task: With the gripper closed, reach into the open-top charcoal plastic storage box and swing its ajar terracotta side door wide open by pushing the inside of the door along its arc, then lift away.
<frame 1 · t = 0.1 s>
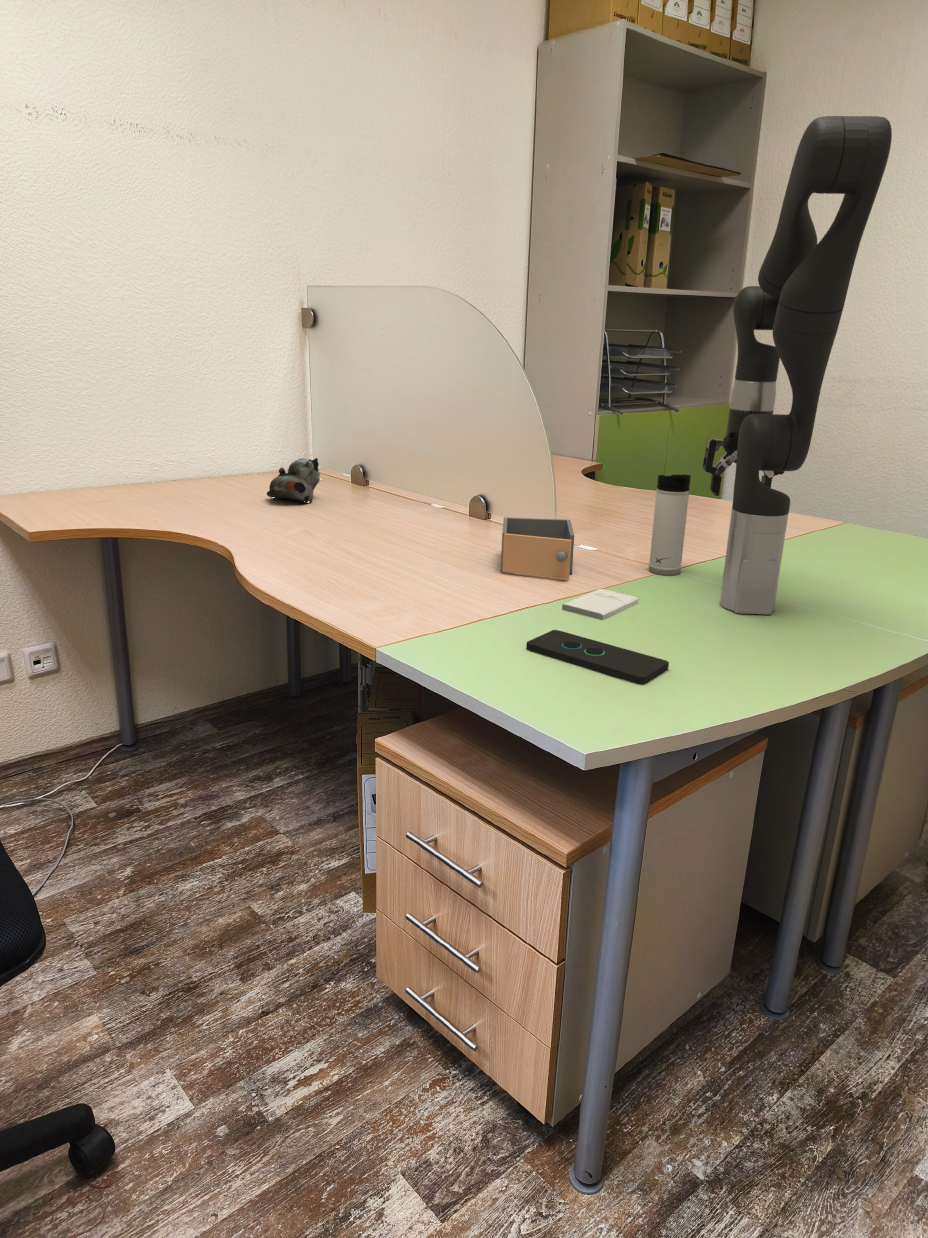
hand: (739, 495, 154), 17 cm above the table, tool pointing down, fingers open, 8 cm apart
side door: (535, 556, 161), point 4 cm above the table, hinge at 15.0°
external hard drive: (600, 609, 147), on the table
smart home device: (594, 663, 123), on the table
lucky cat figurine: (294, 501, 228), on the table
storage box: (535, 564, 171), on the table
travel mug: (664, 572, 168), on the table
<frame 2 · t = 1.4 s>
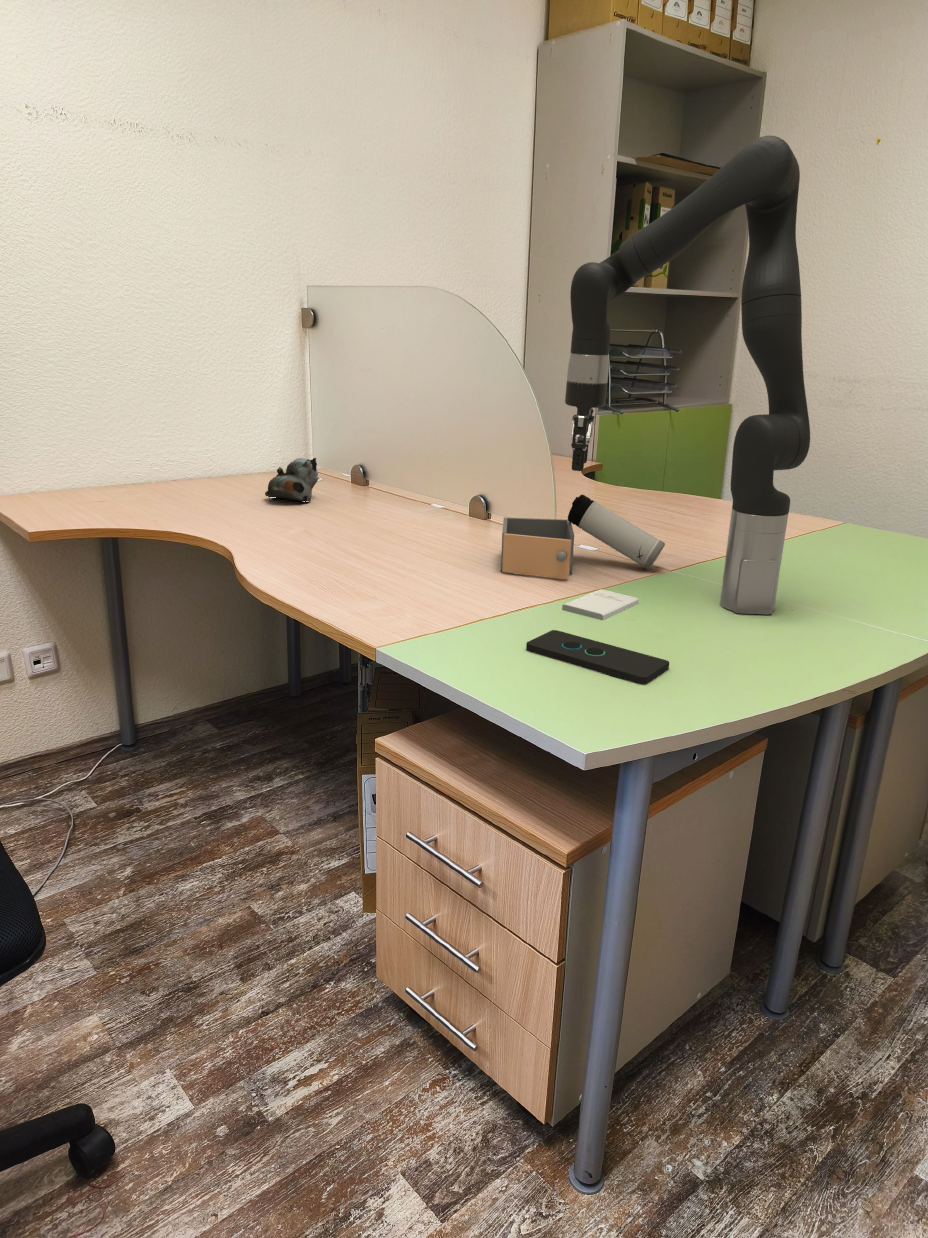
hand: (579, 466, 161), 21 cm above the table, tool pointing down, fingers open, 8 cm apart
travel mug: (658, 556, 168), point 3 cm above the table, touching storage box
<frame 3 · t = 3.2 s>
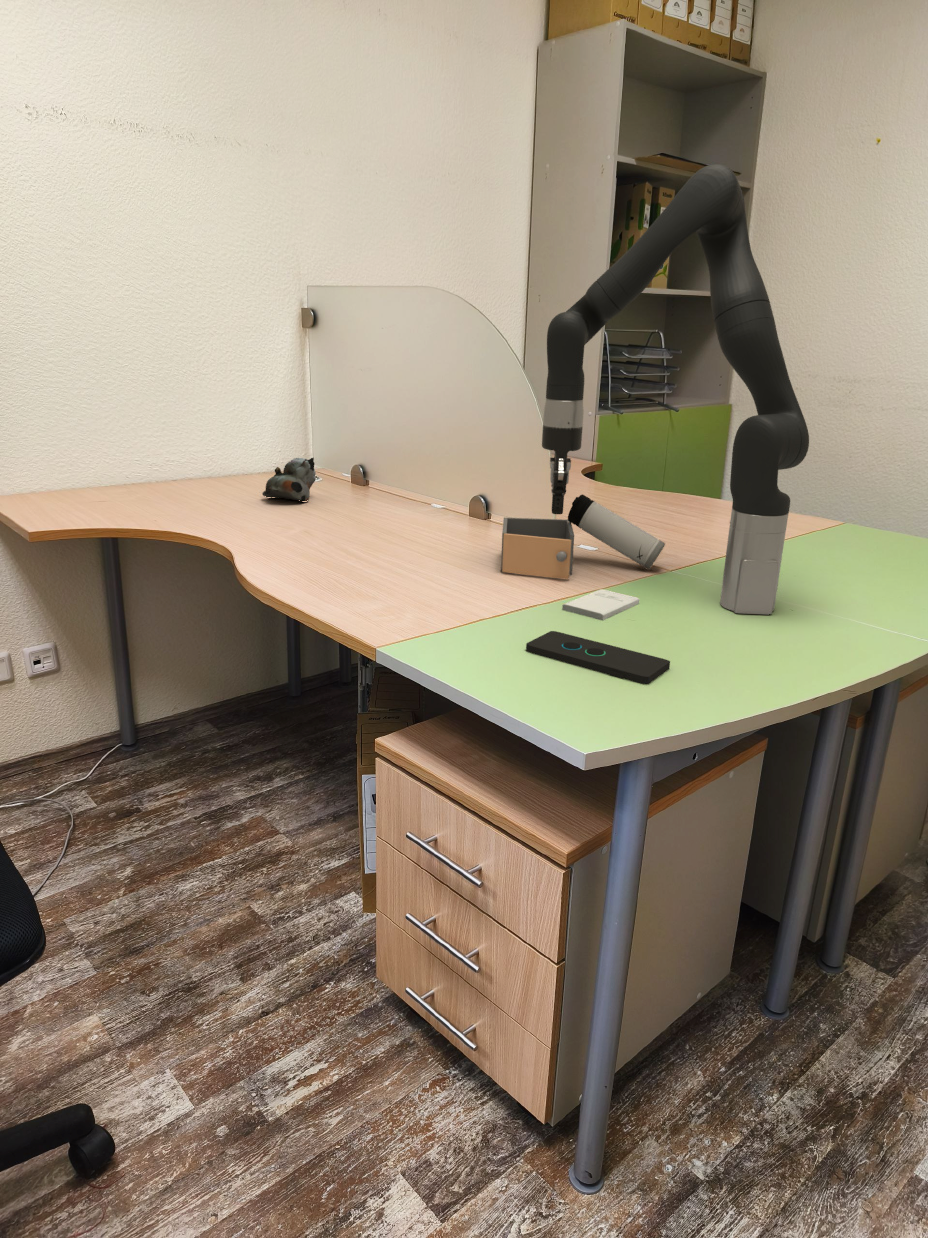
hand: (557, 513, 164), 12 cm above the table, tool pointing down, fingers closed
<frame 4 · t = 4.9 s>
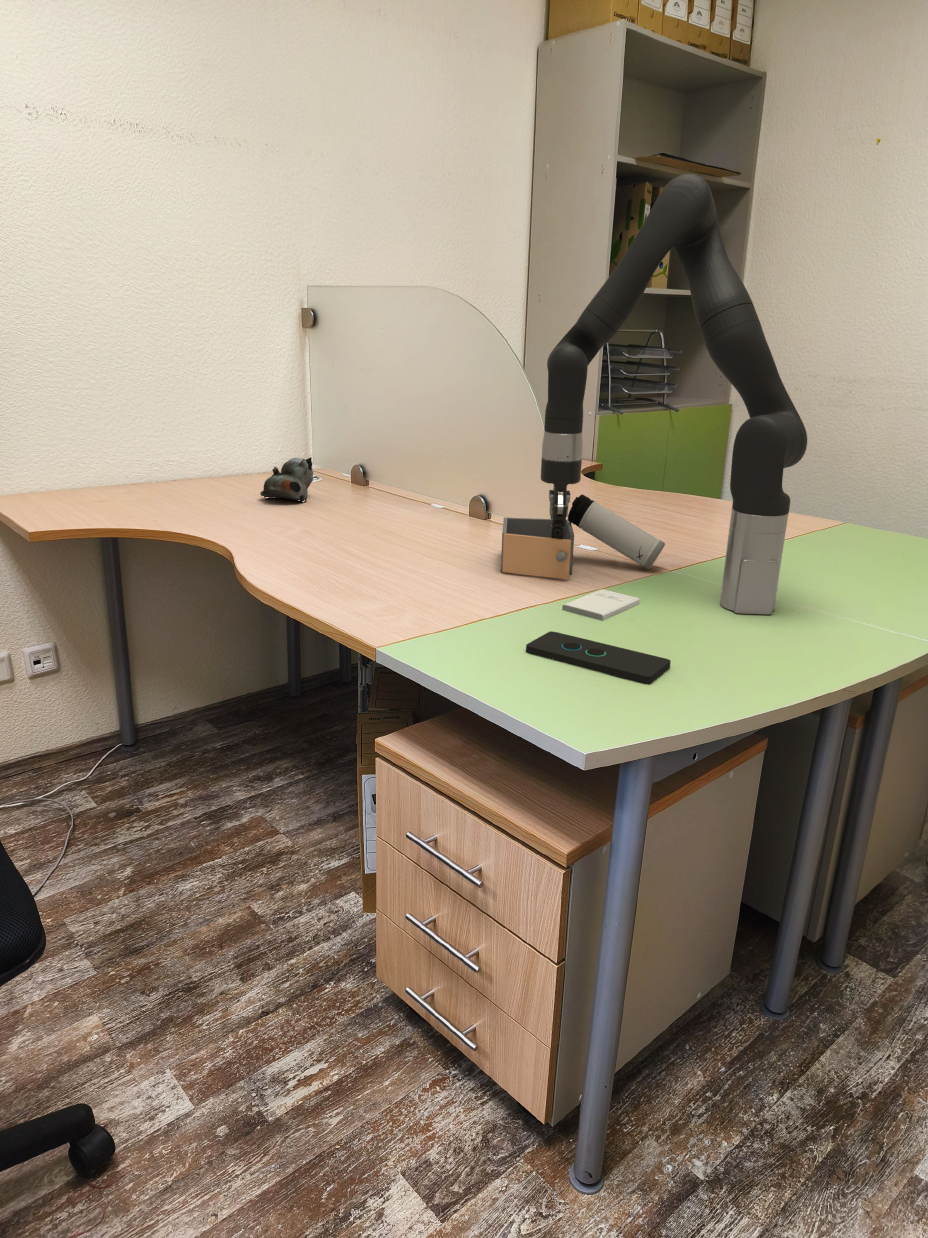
hand: (556, 546, 162), 6 cm above the table, tool pointing down, fingers closed
side door: (535, 557, 160), point 4 cm above the table, hinge at 15.4°, touching gripper
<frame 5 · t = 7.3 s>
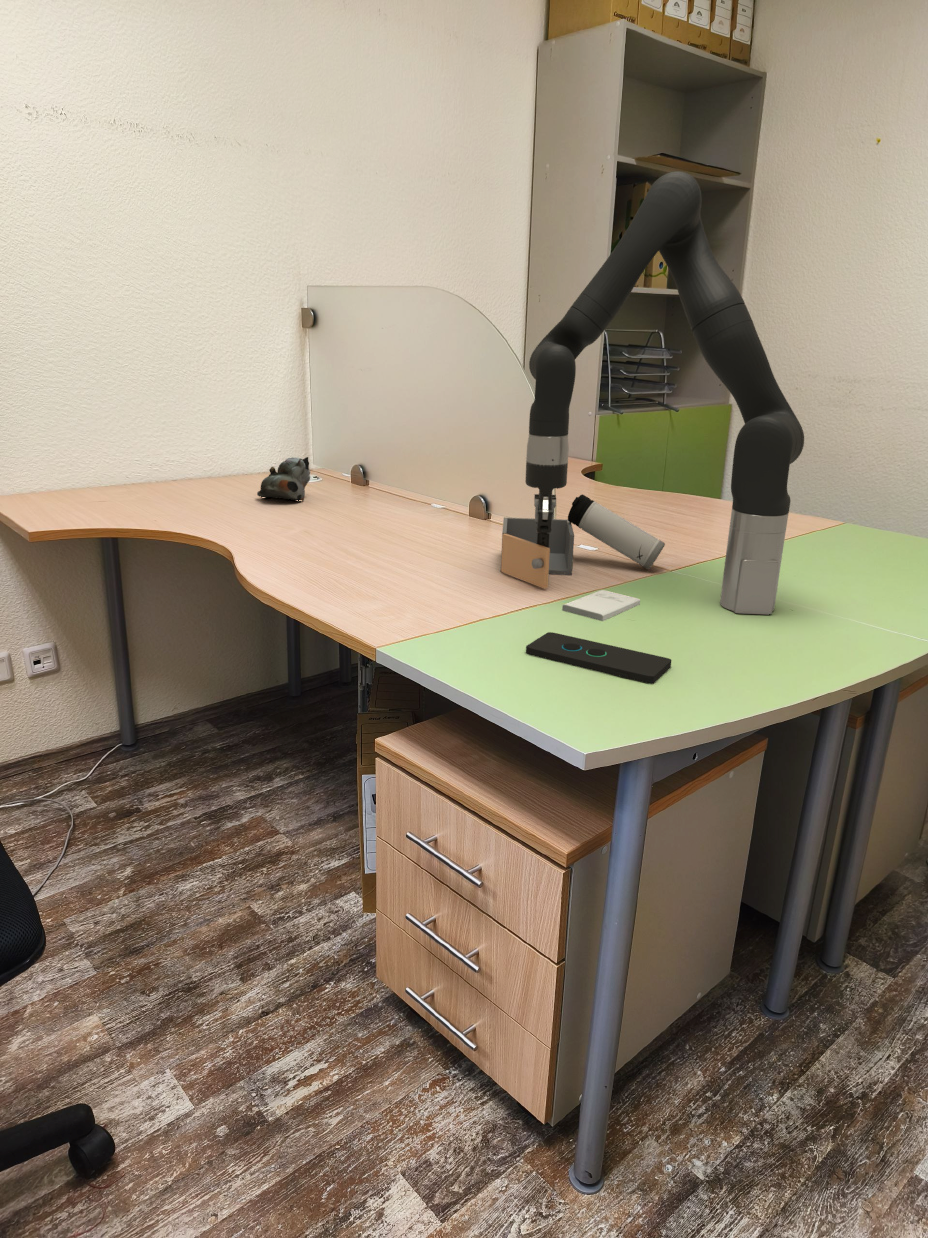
hand: (542, 551, 157), 6 cm above the table, tool pointing down, fingers closed
side door: (521, 560, 158), point 4 cm above the table, hinge at 51.6°, touching gripper
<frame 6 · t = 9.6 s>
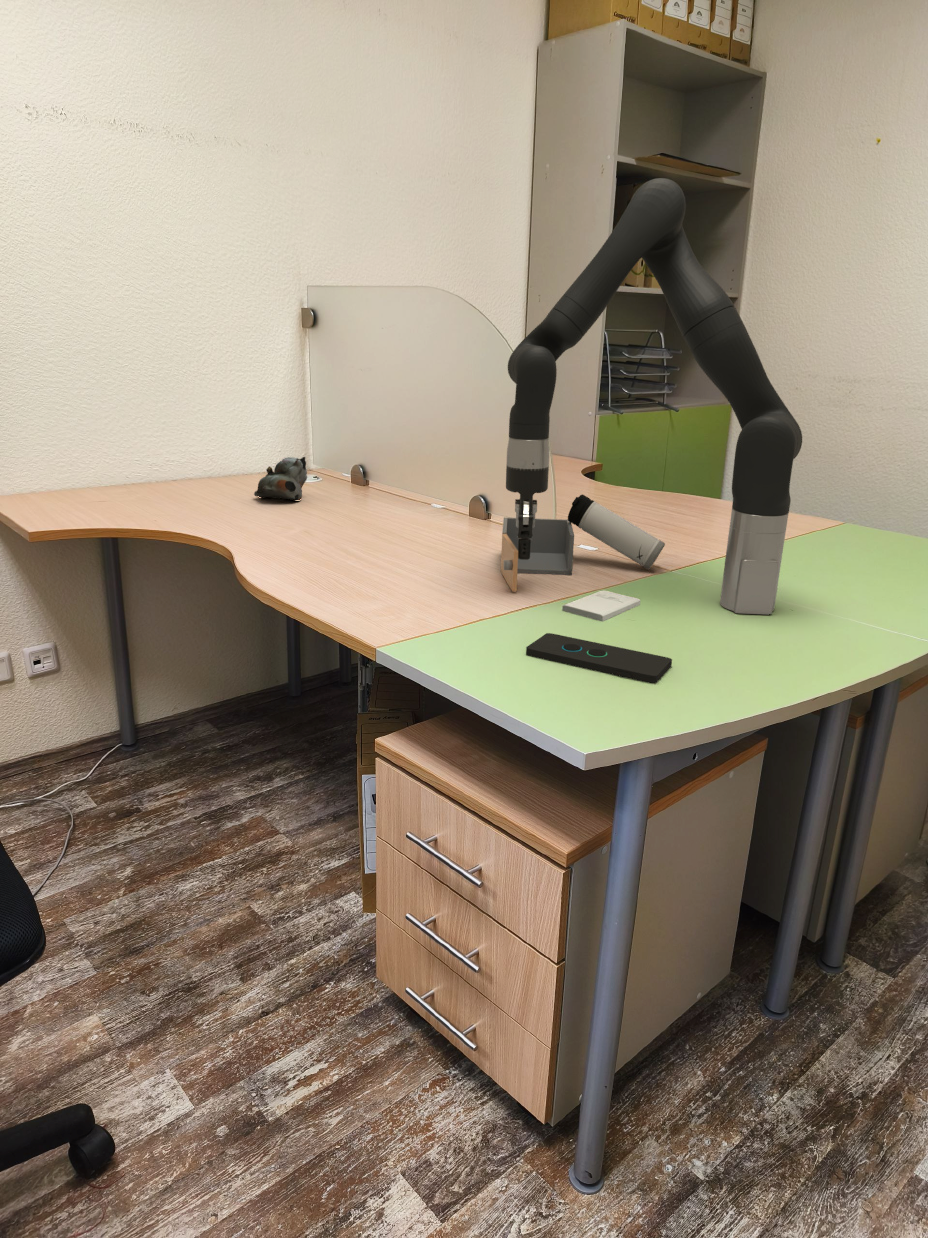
hand: (523, 558, 153), 6 cm above the table, tool pointing down, fingers closed
side door: (505, 561, 157), point 4 cm above the table, hinge at 79.6°
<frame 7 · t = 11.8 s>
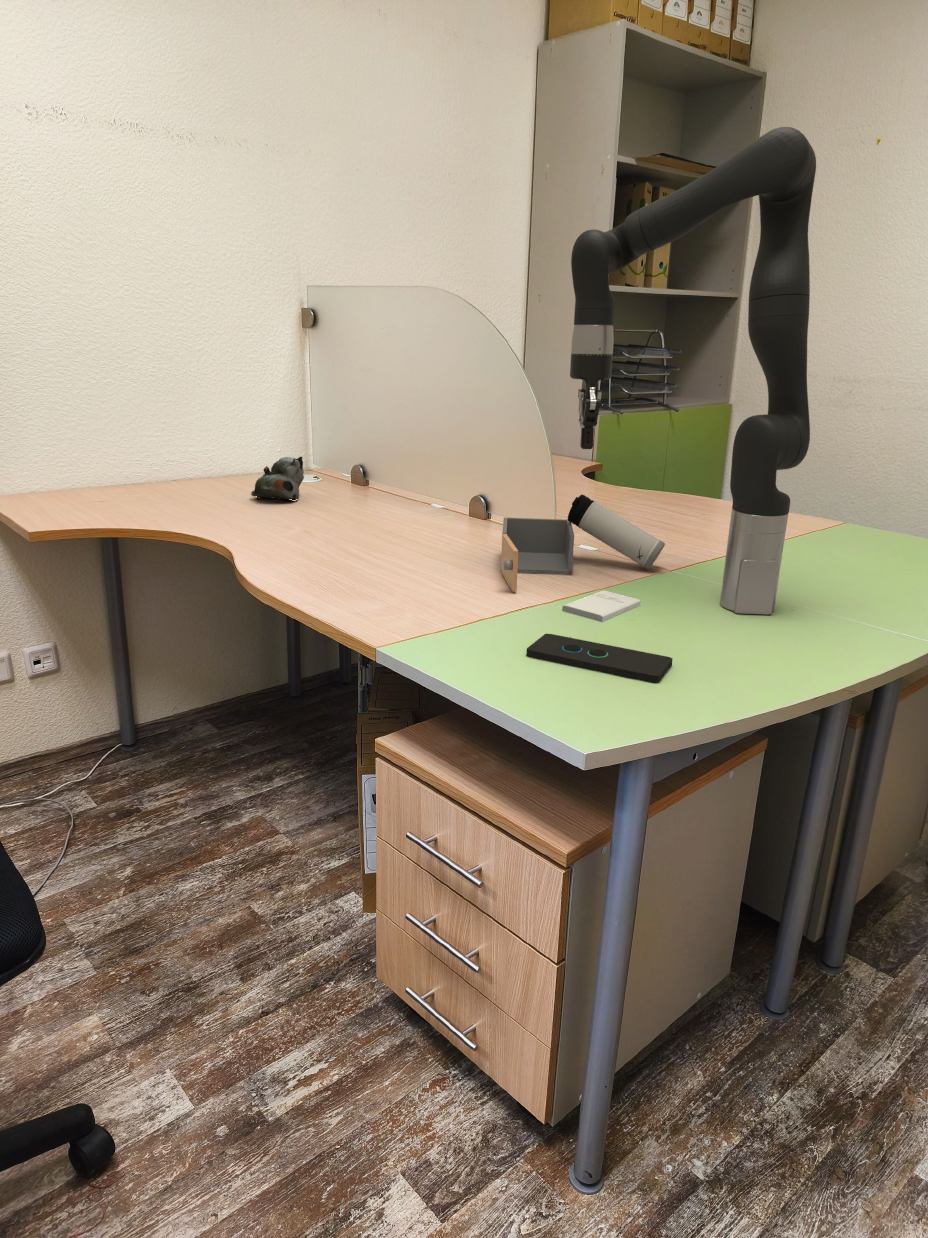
hand: (586, 448, 156), 25 cm above the table, tool pointing down, fingers closed
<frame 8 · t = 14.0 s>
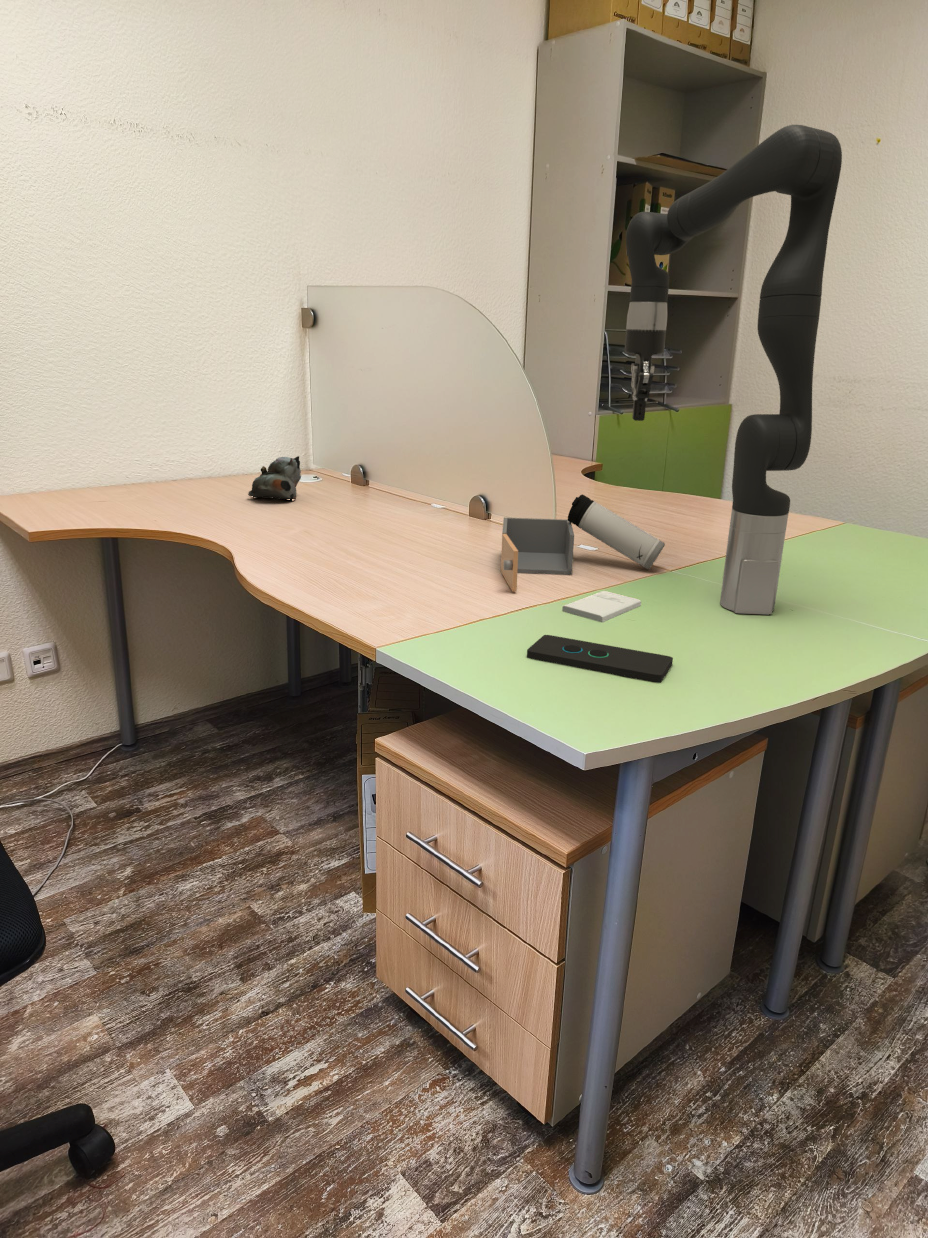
hand: (638, 419, 165), 29 cm above the table, tool pointing down, fingers closed
at the end: side door at +80° (first picture: +15°); external hard drive moved 1.4 cm from its start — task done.
